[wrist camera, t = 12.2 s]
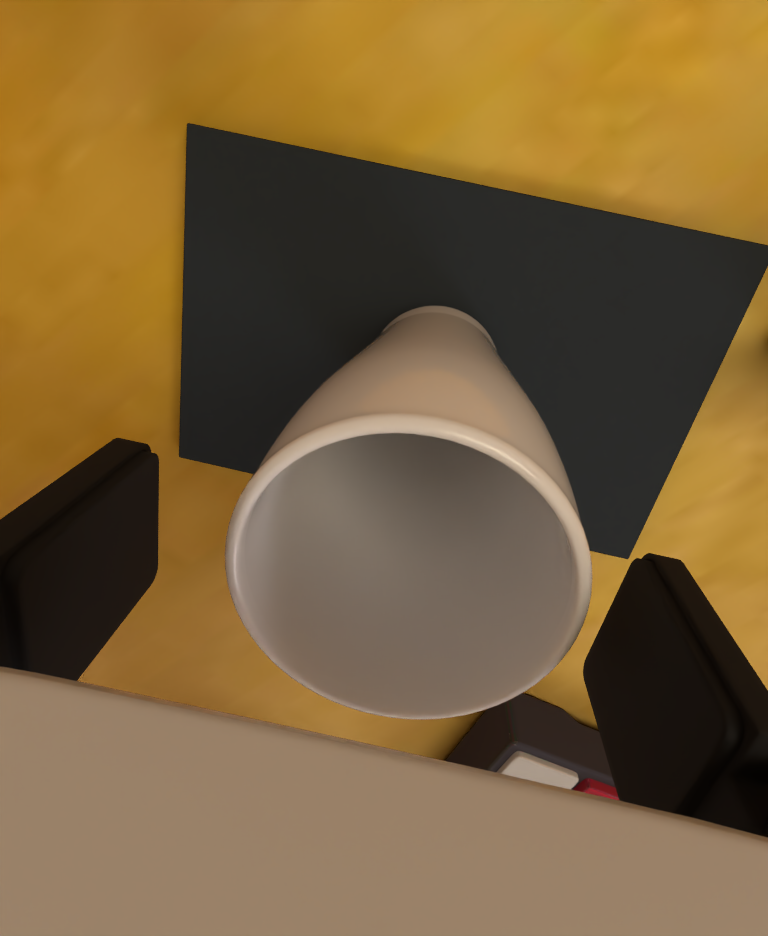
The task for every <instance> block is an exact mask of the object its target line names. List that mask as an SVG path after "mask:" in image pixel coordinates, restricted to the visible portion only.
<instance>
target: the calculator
mask: <svg viewBox="0 0 768 936" xmlns="http://www.w3.org/2000/svg"><path fill="white" fill-rule="evenodd" d="M445 761H447V762H452V763H456V764H461V765H465V766H469V767H474V768H478V769H483V770H487V771H491V772H496V773H500V774H505V775H509V776H514V777H518V778H522V779H527V780H531V781H536V782H540V783H544V784H549V785H553V786H558V787H562V788H566V789H571V790H575V791H580V792H584V793H588V794H593V795H597V796H602V797H606V798H610V799H615V800H619V798H618V795H617V791H616V788H615V784H614V781H613V777H612V774H611V770H610V767H609V764H608V760H607V757H606V753H605V750H604V746H603V743H602V739H601V736H600V733H599V731H596V730H594V729H591V728H589V727H586V726H584V725H581V724H579V723H578V722H577V721H575V720H574V719H573V718H572V717H571V716H570V715H569V714H567V713H566V712H565V711H564V710H563V709H561V708H558V707H556V706H553V705H551V704H548V703H546V702H543V701H541V700H538V699H536V698H533V697H531V696H528V695H526V694H523V693H521V694H520V695H518V696H516V697H514V698H512V699H510V700H508V701H506V702H504V703H502V704H499V705H497V706H494V707H491V708H488V709H487V710H486V711H485V712H484V713H483V715H482V716H481V717H480V718H479V720H478V721H477V722H476V723H475V725H474V726H473V727H472V728H471V729H470V731H469V732H468V733H467V734H466V736H465V737H464V738H463V739H462V741H461V742H460V743H459V744H458V746H457V747H456V748H455V749H454V750H453V752H452V753H451V754H450V755H449V757H448V758H447V759H446V760H445Z"/></svg>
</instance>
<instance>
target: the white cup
mask: <svg viewBox="0 0 768 936" xmlns="http://www.w3.org/2000/svg"><path fill="white" fill-rule="evenodd" d="M225 570H226V576H227V583H228V587H229V590H230V594H231V598H232V600H233V603H234V605H235V608H236V611H237V613H238V615H239V617H240V619H241V621H242V623H243V624H244V626H245V628H246V629H247V631H248V632H249V634H250V636H251V637H252V638H253V640H254V641H255V642H256V644H257V645H258V646H259V647H260V649H261V650H262V651H263V652H264V653H265V654H266V655H267V656H268V657H269V659H271V660H272V661H273V662H274V663H275V664H276V665H277V666H278V667H279V668H280V669H281V670H283V671H284V672H285V673H286V674H288V675H289V676H290V677H291V678H293V679H294V680H296V681H297V682H299V683H300V684H302V685H303V686H305V687H306V688H308V689H310V690H312V691H313V692H315V693H317V694H319V695H321V696H323V697H325V698H327V699H329V700H331V701H333V702H336V703H339V704H341V705H344V706H346V707H349V708H352V709H356V710H359V711H362V712H366V713H370V714H374V715H380V716H386V717H391V718H401V719H421V720H423V719H442V718H451V717H457V716H462V715H468V714H472V713H475V712H479V711H483V710H486V709H488V708H491V707H494V706H497V705H499V704H502V703H504V702H506V701H508V700H510V699H512V698H514V697H516V696H518V695H520V694H521V693H523V692H525V691H526V690H528V689H529V688H531V687H532V686H534V685H535V684H537V683H538V682H539V681H540V680H542V679H543V678H544V677H545V676H546V675H548V674H549V673H550V672H551V671H552V670H553V669H554V668H555V667H556V666H557V665H558V664H559V662H560V661H561V660H562V659H563V657H564V656H565V655H566V654H567V652H568V651H569V650H570V648H571V646H572V645H573V643H574V642H575V640H576V638H577V636H578V634H579V632H580V630H581V628H582V626H583V623H584V620H585V617H586V614H587V611H588V608H589V603H590V598H591V590H592V562H591V556H590V550H589V545H588V542H587V538H586V535H585V532H584V529H583V525H582V522H581V518H580V514H579V511H578V507H577V504H576V501H575V497H574V494H573V491H572V488H571V484H570V481H569V478H568V476H567V473H566V470H565V467H564V465H563V462H562V460H561V457H560V455H559V453H558V450H557V448H556V446H555V444H554V441H553V439H552V437H551V435H550V433H549V431H548V429H547V427H546V425H545V423H544V422H543V420H542V418H541V416H540V415H539V413H538V411H537V409H536V408H535V406H534V405H533V403H532V402H531V400H530V399H529V397H528V396H527V394H526V393H525V391H524V390H523V389H522V387H521V386H520V384H519V383H518V382H517V380H516V379H515V377H514V376H513V375H512V373H511V372H510V370H509V369H508V367H507V366H506V365H505V363H504V362H503V360H502V359H501V357H500V356H499V354H498V352H497V349H496V347H495V344H494V342H493V340H492V338H491V337H490V335H489V334H488V332H487V331H486V330H485V328H484V327H483V326H482V325H481V324H480V323H479V322H478V321H477V320H475V319H474V318H473V317H471V316H470V315H468V314H466V313H464V312H462V311H460V310H457V309H454V308H451V307H446V306H433V305H432V306H423V307H418V308H415V309H412V310H409V311H407V312H405V313H403V314H401V315H399V316H398V317H396V318H395V319H394V320H392V321H391V322H390V323H389V324H388V325H387V326H386V327H385V328H384V329H383V330H382V332H381V333H380V334H379V336H378V337H377V338H376V339H375V340H374V341H373V342H371V343H370V344H369V345H368V346H367V347H365V348H364V349H363V350H362V351H361V352H359V353H358V354H357V355H356V356H354V357H353V358H352V359H351V360H349V361H348V362H347V363H346V364H345V365H343V366H342V367H341V368H340V369H338V370H337V371H336V372H335V373H334V374H332V375H331V376H330V377H329V378H328V379H327V380H326V381H325V382H324V383H323V384H322V385H321V386H320V387H319V388H318V389H317V390H316V391H315V392H314V393H313V394H312V395H311V396H310V397H309V398H308V399H307V400H306V401H305V402H304V403H303V404H302V406H301V407H300V408H299V409H298V411H297V412H296V413H295V414H294V416H293V417H292V418H291V419H290V420H289V422H288V423H287V424H286V426H285V427H284V428H283V430H282V431H281V432H280V434H279V435H278V437H277V438H276V440H275V441H274V443H273V444H272V446H271V447H270V449H269V450H268V452H267V453H266V455H265V457H264V458H263V460H262V461H261V463H260V465H259V466H258V468H257V469H256V471H255V473H254V474H253V476H252V478H251V479H250V480H249V482H248V484H247V485H246V487H245V488H244V490H243V491H242V493H241V495H240V497H239V499H238V501H237V503H236V505H235V507H234V510H233V513H232V516H231V519H230V522H229V526H228V531H227V536H226V544H225Z"/></svg>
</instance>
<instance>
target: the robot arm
mask: <svg viewBox="0 0 768 936" xmlns="http://www.w3.org/2000/svg"><path fill="white" fill-rule="evenodd" d="M158 502H159V458H158V455H157V454H155V453H151V449H150V447H149V445H148V444H144V443H139V442H135V441H130V440H126V439H121V438H116V439H113V440H112V441H111V442H109V443H108V444H106V445H105V446H104V447H102V448H101V449H99V450H98V451H96V452H95V453H94V454H92V455H91V456H89V457H88V458H87V459H85V460H84V461H82V462H81V463H80V464H78V465H77V466H75V467H74V468H72V469H71V470H70V471H68V472H67V473H65V474H64V475H63V476H61V477H60V478H58V479H57V480H56V481H54V482H53V483H51V484H50V485H49V486H47V487H46V488H44V489H43V490H41V491H40V492H39V493H37V494H36V495H34V496H33V497H32V498H30V499H29V500H27V501H26V502H25V503H23V504H22V505H20V506H19V507H17V508H16V509H15V510H13V511H12V512H10V513H9V514H8V515H6V516H5V517H3V518H2V519H1V520H0V936H768V690H767V689H766V687H765V686H764V684H763V683H762V681H761V680H760V678H759V677H758V675H757V674H756V672H755V671H754V669H753V668H752V666H751V665H750V663H749V662H748V660H747V659H746V657H745V656H744V654H743V653H742V651H741V650H740V648H739V647H738V645H737V644H736V642H735V641H734V639H733V637H732V636H731V634H730V633H729V631H728V630H727V628H726V627H725V625H724V624H723V622H722V621H721V619H720V618H719V616H718V615H717V613H716V612H715V610H714V609H713V607H712V606H711V604H710V603H709V601H708V600H707V598H706V597H705V595H704V594H703V592H702V591H701V589H700V588H699V586H698V585H697V583H696V582H695V580H694V578H693V577H692V575H691V574H690V572H689V571H688V569H687V568H686V566H685V565H684V563H683V562H682V561H681V560H678V559H674V558H669V557H665V556H660V555H655V554H651V553H648V554H646V555H645V556H644V557H643V558H642V559H639V558H637V559H635V560H634V561H633V562H632V563H631V565H630V567H629V569H628V571H627V573H626V575H625V578H624V580H623V582H622V584H621V586H620V588H619V590H618V592H617V594H616V596H615V598H614V601H613V603H612V605H611V607H610V609H609V611H608V613H607V615H606V617H605V619H604V622H603V624H602V626H601V628H600V630H599V632H598V634H597V636H596V638H595V640H594V643H593V645H592V647H591V649H590V651H589V653H588V655H587V657H586V660H585V663H584V669H583V676H584V681H585V684H586V688H587V691H588V695H589V698H590V702H591V705H592V708H593V712H594V715H595V719H596V722H597V726H598V729H599V733H600V736H601V739H602V743H603V746H604V750H605V753H606V757H607V760H608V764H609V767H610V770H611V774H612V777H613V781H614V784H615V788H616V791H617V795H618V798H619V800H615V799H610V798H606V797H602V796H597V795H593V794H588V793H584V792H580V791H575V790H571V789H566V788H562V787H558V786H553V785H549V784H544V783H540V782H536V781H531V780H527V779H522V778H518V777H514V776H509V775H505V774H500V773H496V772H491V771H487V770H483V769H478V768H474V767H469V766H465V765H461V764H456V763H452V762H447V761H443V760H438V759H434V758H429V757H425V756H420V755H416V754H411V753H407V752H402V751H398V750H393V749H389V748H384V747H380V746H375V745H371V744H366V743H362V742H357V741H352V740H348V739H343V738H339V737H334V736H330V735H325V734H321V733H316V732H311V731H307V730H302V729H298V728H293V727H289V726H284V725H280V724H275V723H271V722H266V721H261V720H257V719H252V718H247V717H243V716H238V715H233V714H229V713H224V712H219V711H215V710H210V709H205V708H201V707H196V706H191V705H187V704H182V703H178V702H173V701H168V700H164V699H159V698H154V697H150V696H145V695H140V694H136V693H131V692H126V691H122V690H117V689H112V688H108V687H103V686H98V685H93V684H88V683H84V682H79V681H77V680H78V679H79V677H80V676H81V675H82V673H83V672H84V671H85V670H86V668H87V667H88V666H89V664H90V663H91V662H92V661H93V659H94V658H95V657H96V655H97V654H98V653H99V652H100V650H101V649H102V648H103V646H104V645H105V644H106V642H107V641H108V640H109V639H110V637H111V636H112V635H113V633H114V632H115V631H116V630H117V628H118V627H119V626H120V624H121V623H122V622H123V621H124V619H125V618H126V617H127V615H128V614H129V613H130V611H131V610H132V609H133V608H134V606H135V605H136V604H137V602H138V601H139V600H140V599H141V597H142V596H143V595H144V593H145V592H146V591H147V589H148V588H149V587H150V586H151V584H152V583H153V581H154V579H155V576H156V573H157V569H158Z"/></svg>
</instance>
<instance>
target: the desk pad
mask: <svg viewBox="0 0 768 936" xmlns="http://www.w3.org/2000/svg"><path fill="white" fill-rule="evenodd" d="M767 266H768V245H763V244H758V243H754V242H749V241H744V240H739V239H735V238H730V237H725V236H720V235H716V234H711V233H706V232H702V231H697V230H692V229H687V228H683V227H678V226H673V225H668V224H664V223H659V222H654V221H649V220H645V219H640V218H635V217H631V216H626V215H621V214H616V213H612V212H607V211H602V210H597V209H593V208H588V207H583V206H578V205H574V204H569V203H564V202H559V201H555V200H550V199H545V198H541V197H536V196H531V195H526V194H522V193H517V192H512V191H507V190H503V189H498V188H493V187H488V186H484V185H479V184H474V183H470V182H465V181H460V180H455V179H451V178H446V177H441V176H436V175H432V174H427V173H422V172H417V171H413V170H408V169H403V168H398V167H394V166H389V165H384V164H380V163H375V162H370V161H365V160H361V159H356V158H351V157H346V156H342V155H337V154H332V153H327V152H323V151H318V150H313V149H309V148H304V147H299V146H294V145H290V144H285V143H280V142H275V141H271V140H266V139H261V138H256V137H252V136H247V135H242V134H237V133H233V132H228V131H223V130H219V129H214V128H209V127H204V126H200V125H195V124H190V123H188V124H187V145H186V187H185V229H184V270H183V312H182V354H181V396H180V437H179V457H181V458H186V459H190V460H194V461H199V462H203V463H208V464H212V465H216V466H221V467H225V468H230V469H234V470H238V471H243V472H247V473H252V474H254V473H255V471H256V469H257V468H258V466H259V465H260V463H261V461H262V460H263V458H264V457H265V455H266V453H267V452H268V450H269V449H270V447H271V446H272V444H273V443H274V441H275V440H276V438H277V437H278V435H279V434H280V432H281V431H282V430H283V428H284V427H285V426H286V424H287V423H288V422H289V420H290V419H291V418H292V417H293V416H294V414H295V413H296V412H297V411H298V409H299V408H300V407H301V406H302V404H303V403H304V402H305V401H306V400H307V399H308V398H309V397H310V396H311V395H312V394H313V393H314V392H315V391H316V390H317V389H318V388H319V387H320V386H321V385H322V384H323V383H324V382H325V381H326V380H327V379H328V378H329V377H330V376H331V375H332V374H334V373H335V372H336V371H337V370H338V369H340V368H341V367H342V366H343V365H345V364H346V363H347V362H348V361H349V360H351V359H352V358H353V357H354V356H356V355H357V354H358V353H359V352H361V351H362V350H363V349H364V348H365V347H367V346H368V345H369V344H370V343H371V342H373V341H374V340H375V339H376V338H377V337H378V336H379V334H380V333H381V332H382V330H383V329H384V328H385V327H386V326H387V325H388V324H389V323H390V322H391V321H392V320H394V319H395V318H396V317H398V316H399V315H401V314H403V313H405V312H407V311H409V310H412V309H415V308H418V307H423V306H432V305H433V306H446V307H451V308H454V309H457V310H460V311H462V312H464V313H466V314H468V315H470V316H471V317H473V318H474V319H475V320H477V321H478V322H479V323H480V324H481V325H482V326H483V327H484V328H485V330H486V331H487V332H488V334H489V335H490V337H491V338H492V340H493V342H494V344H495V347H496V349H497V352H498V354H499V356H500V357H501V359H502V360H503V362H504V363H505V365H506V366H507V367H508V369H509V370H510V372H511V373H512V375H513V376H514V377H515V379H516V380H517V382H518V383H519V384H520V386H521V387H522V389H523V390H524V391H525V393H526V394H527V396H528V397H529V399H530V400H531V402H532V403H533V405H534V406H535V408H536V409H537V411H538V413H539V415H540V416H541V418H542V420H543V422H544V423H545V425H546V427H547V429H548V431H549V433H550V435H551V437H552V439H553V441H554V444H555V446H556V448H557V450H558V453H559V455H560V457H561V460H562V462H563V465H564V467H565V470H566V473H567V476H568V478H569V481H570V484H571V488H572V491H573V494H574V497H575V501H576V504H577V507H578V511H579V514H580V518H581V522H582V525H583V529H584V532H585V535H586V538H587V542H588V545H589V550H590V551H594V552H599V553H603V554H607V555H612V556H616V557H621V558H625V559H628V558H629V556H630V554H631V552H632V550H633V548H634V546H635V544H636V542H637V540H638V537H639V535H640V533H641V531H642V529H643V527H644V525H645V523H646V521H647V519H648V516H649V514H650V512H651V510H652V508H653V506H654V504H655V502H656V500H657V498H658V495H659V493H660V491H661V489H662V487H663V485H664V483H665V481H666V479H667V477H668V474H669V472H670V470H671V468H672V466H673V464H674V462H675V460H676V458H677V456H678V453H679V451H680V449H681V447H682V445H683V443H684V441H685V439H686V437H687V434H688V432H689V430H690V428H691V426H692V424H693V422H694V420H695V418H696V416H697V413H698V411H699V409H700V407H701V405H702V403H703V401H704V399H705V397H706V395H707V392H708V390H709V388H710V386H711V384H712V382H713V380H714V378H715V376H716V374H717V371H718V369H719V367H720V365H721V363H722V361H723V359H724V357H725V355H726V353H727V350H728V348H729V346H730V344H731V342H732V340H733V338H734V336H735V334H736V332H737V329H738V327H739V325H740V323H741V321H742V319H743V317H744V315H745V313H746V311H747V308H748V306H749V304H750V302H751V300H752V298H753V296H754V294H755V292H756V290H757V287H758V285H759V283H760V281H761V279H762V277H763V275H764V273H765V271H766V269H767Z"/></svg>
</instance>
